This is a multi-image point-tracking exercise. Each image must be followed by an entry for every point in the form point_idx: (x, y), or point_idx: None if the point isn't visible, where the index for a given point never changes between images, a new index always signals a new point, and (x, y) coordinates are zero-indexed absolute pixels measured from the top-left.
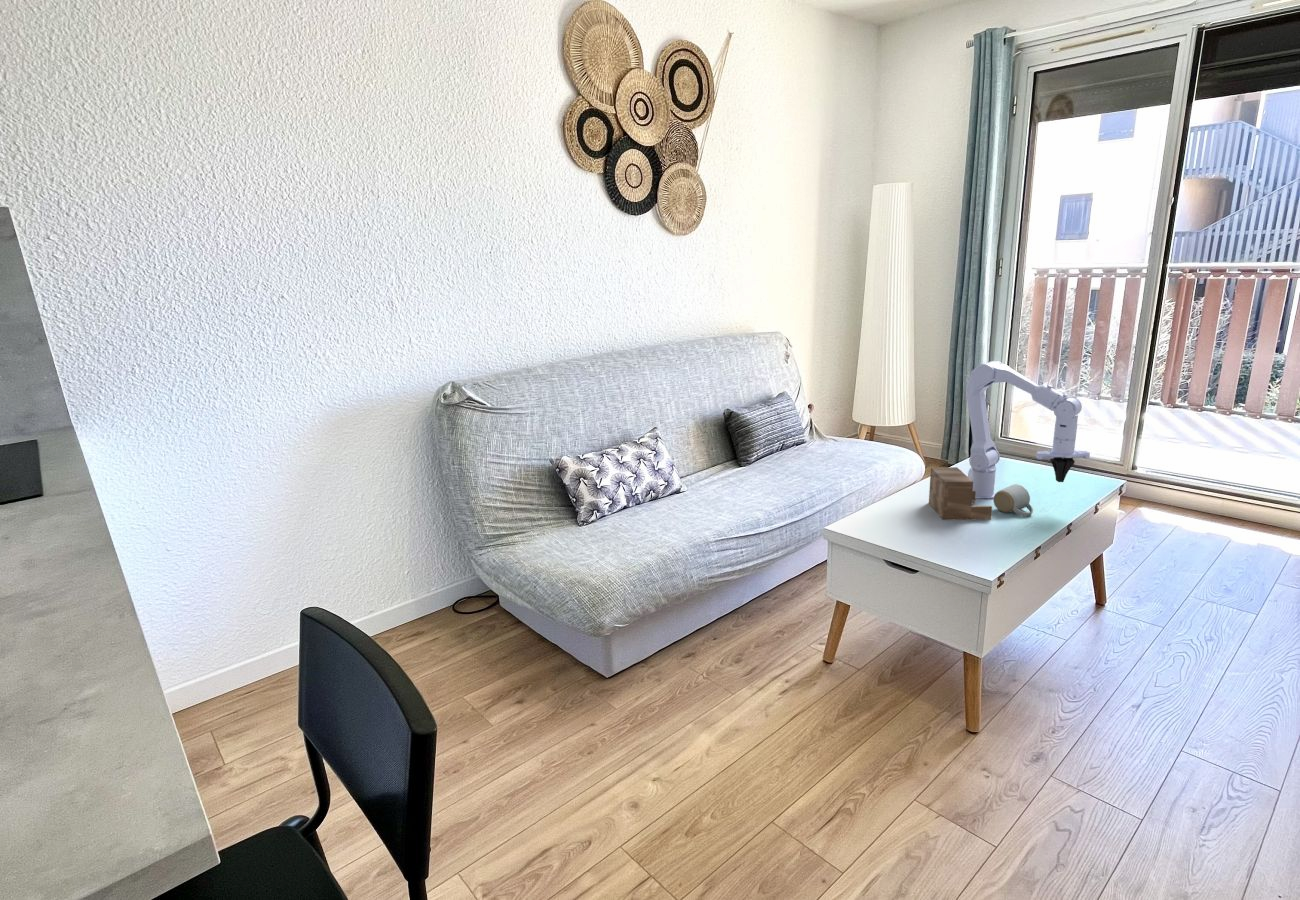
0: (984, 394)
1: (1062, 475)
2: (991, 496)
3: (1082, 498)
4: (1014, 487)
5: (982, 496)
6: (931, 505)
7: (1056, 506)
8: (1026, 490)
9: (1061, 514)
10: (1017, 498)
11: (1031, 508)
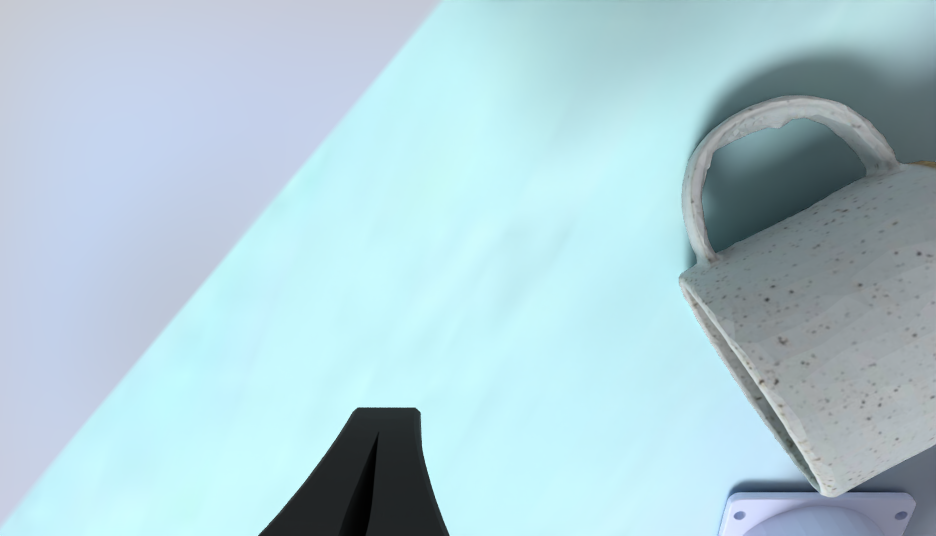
0: None
1: (364, 483)
2: (777, 510)
3: (135, 481)
4: (914, 403)
5: (844, 509)
6: None
7: (382, 339)
8: (762, 369)
9: (420, 156)
10: (922, 224)
11: (702, 187)
